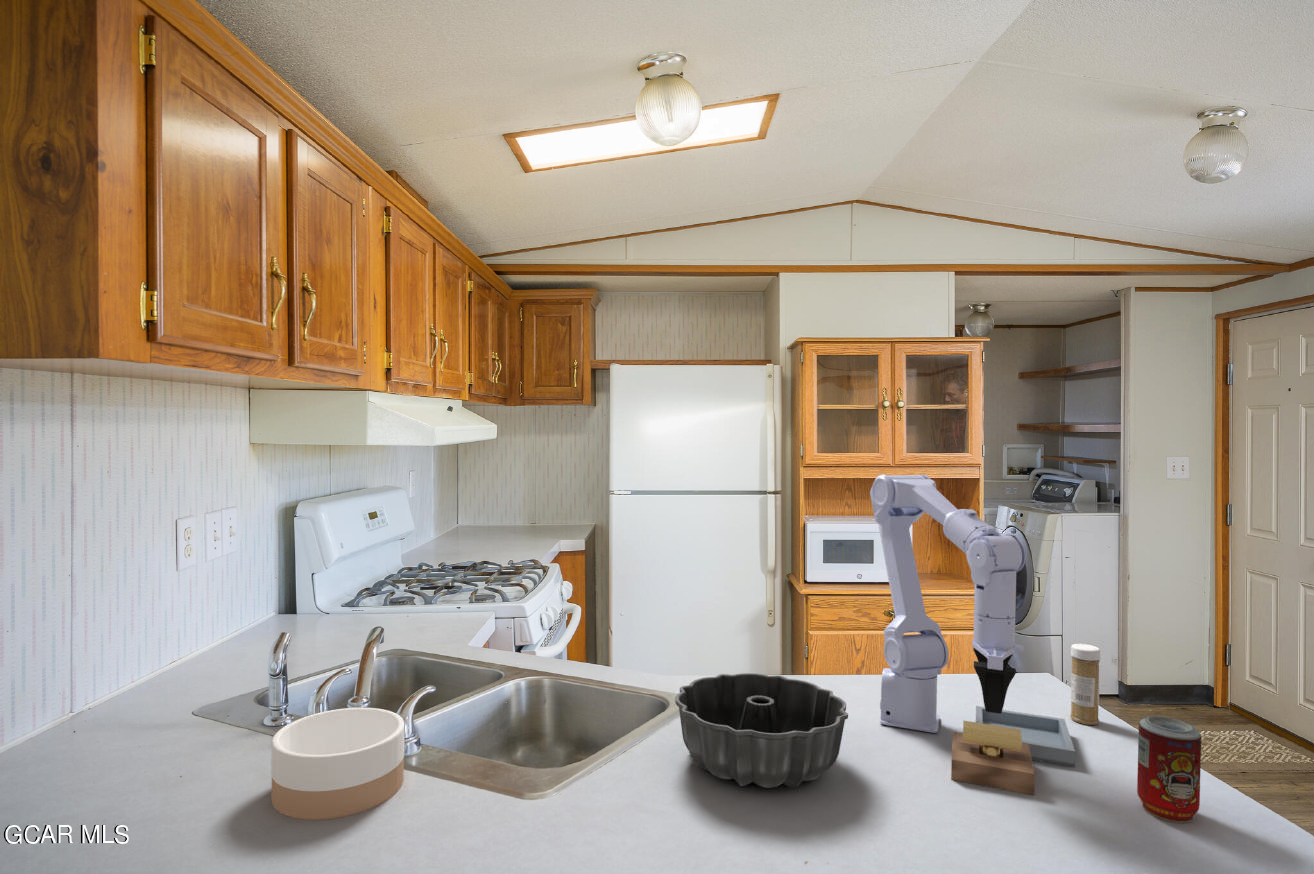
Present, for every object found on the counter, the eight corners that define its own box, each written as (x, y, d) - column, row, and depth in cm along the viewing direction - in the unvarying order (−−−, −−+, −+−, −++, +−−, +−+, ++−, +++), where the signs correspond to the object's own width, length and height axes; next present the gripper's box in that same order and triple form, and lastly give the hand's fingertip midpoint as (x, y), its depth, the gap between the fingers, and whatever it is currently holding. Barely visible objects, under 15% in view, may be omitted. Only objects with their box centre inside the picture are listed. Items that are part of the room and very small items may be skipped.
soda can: (1159, 825, 97) (1161, 733, 97) (1125, 798, 104) (1127, 712, 104) (1212, 826, 97) (1215, 734, 97) (1175, 799, 104) (1177, 713, 104)
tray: (976, 750, 120) (976, 735, 120) (975, 719, 132) (975, 705, 132) (1074, 767, 114) (1075, 751, 114) (1064, 733, 127) (1064, 719, 127)
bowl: (428, 772, 110) (429, 716, 109) (344, 831, 93) (345, 765, 93) (335, 754, 115) (336, 700, 115) (241, 806, 99) (241, 744, 99)
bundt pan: (746, 716, 133) (746, 660, 133) (879, 765, 114) (881, 701, 114) (639, 760, 114) (640, 696, 114) (777, 828, 96) (779, 751, 95)
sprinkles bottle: (1103, 722, 132) (1105, 647, 132) (1090, 727, 130) (1092, 651, 129) (1077, 714, 136) (1079, 641, 136) (1064, 719, 133) (1066, 645, 133)
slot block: (951, 779, 109) (951, 759, 109) (952, 750, 120) (953, 731, 120) (1034, 795, 105) (1034, 774, 105) (1028, 763, 115) (1028, 744, 115)
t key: (962, 770, 113) (963, 727, 113) (962, 762, 115) (963, 720, 115) (1020, 780, 109) (1021, 736, 109) (1019, 772, 112) (1020, 729, 112)
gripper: (1027, 629, 104) (1025, 724, 104) (1020, 606, 117) (1018, 691, 117) (972, 623, 107) (971, 716, 107) (972, 602, 120) (970, 685, 120)
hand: (992, 703), depth 112 cm, fingers open, 7 cm apart
